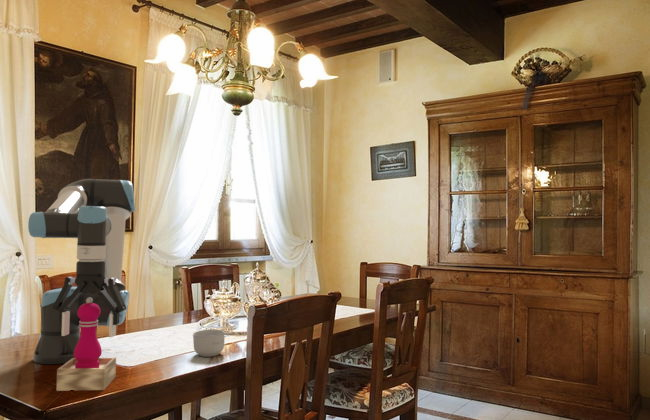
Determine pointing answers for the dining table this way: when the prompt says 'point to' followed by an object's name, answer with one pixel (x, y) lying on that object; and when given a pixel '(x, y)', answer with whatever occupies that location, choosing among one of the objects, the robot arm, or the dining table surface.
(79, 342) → the pepper mill
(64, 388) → the oak box
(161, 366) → the dining table surface
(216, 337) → the teacup
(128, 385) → the dining table surface
